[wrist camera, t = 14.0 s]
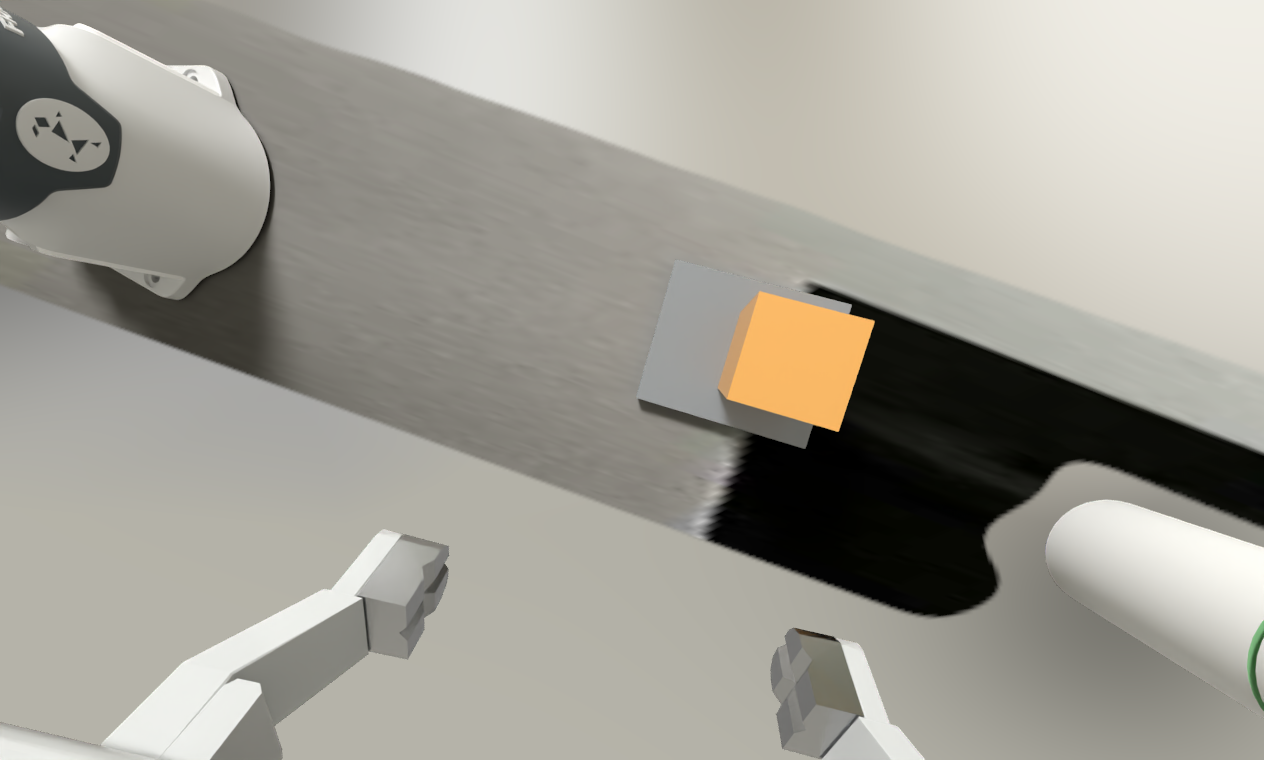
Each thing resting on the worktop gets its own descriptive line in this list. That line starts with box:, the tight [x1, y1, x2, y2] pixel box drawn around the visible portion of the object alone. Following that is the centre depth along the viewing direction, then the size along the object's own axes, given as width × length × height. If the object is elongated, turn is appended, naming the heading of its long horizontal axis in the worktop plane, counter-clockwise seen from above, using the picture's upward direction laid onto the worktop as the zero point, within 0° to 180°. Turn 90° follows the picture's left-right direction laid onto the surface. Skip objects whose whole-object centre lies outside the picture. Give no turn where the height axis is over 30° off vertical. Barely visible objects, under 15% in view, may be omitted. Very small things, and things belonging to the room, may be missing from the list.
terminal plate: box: [636, 259, 852, 449], centre depth 31 cm, size 12×10×1 cm
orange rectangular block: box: [718, 291, 875, 432], centre depth 26 cm, size 5×5×9 cm
